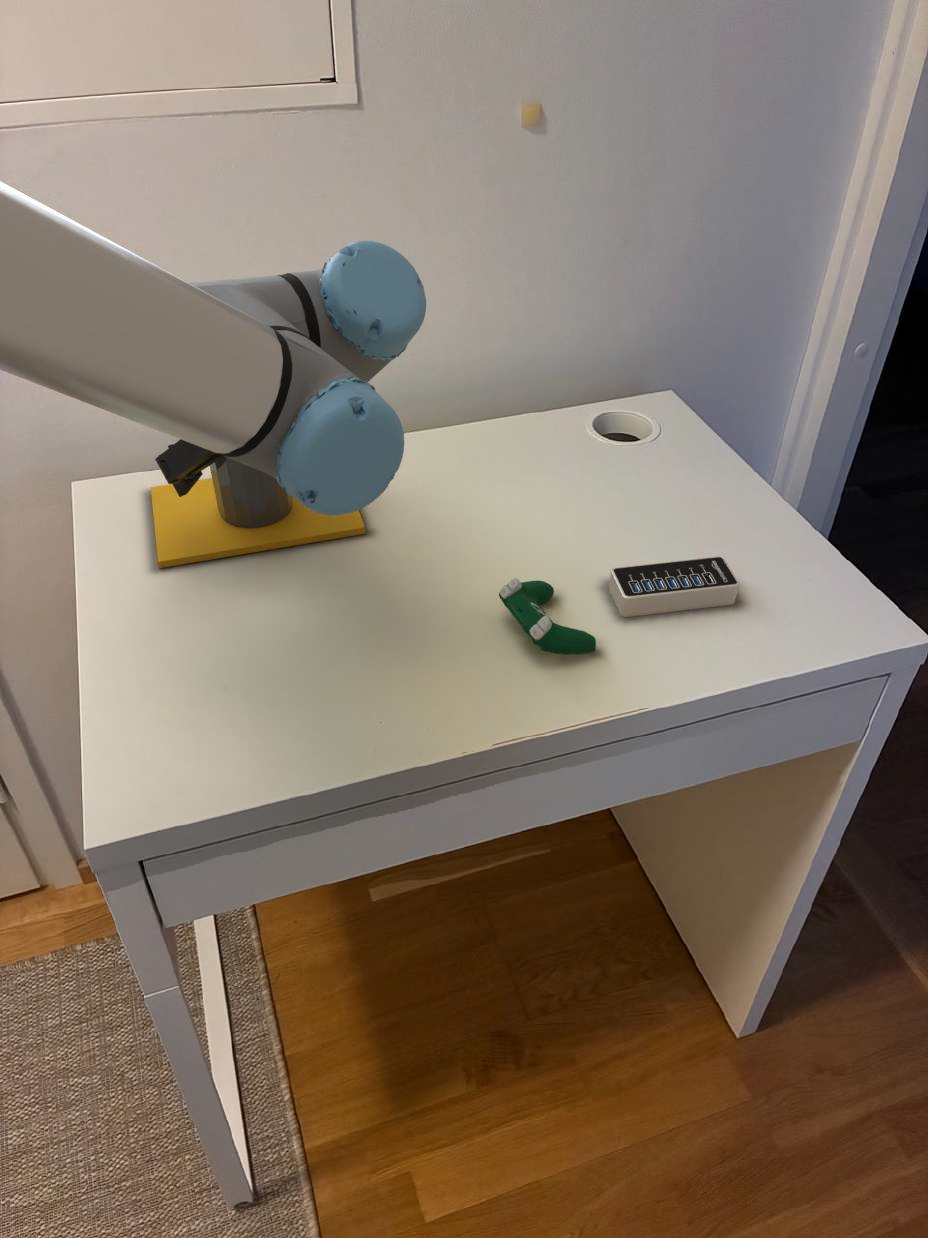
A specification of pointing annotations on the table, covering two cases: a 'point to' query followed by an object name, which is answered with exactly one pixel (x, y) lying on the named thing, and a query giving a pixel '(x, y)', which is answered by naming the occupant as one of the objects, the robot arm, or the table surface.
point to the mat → (232, 527)
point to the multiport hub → (673, 586)
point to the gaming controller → (543, 619)
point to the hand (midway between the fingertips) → (235, 459)
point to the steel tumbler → (248, 495)
